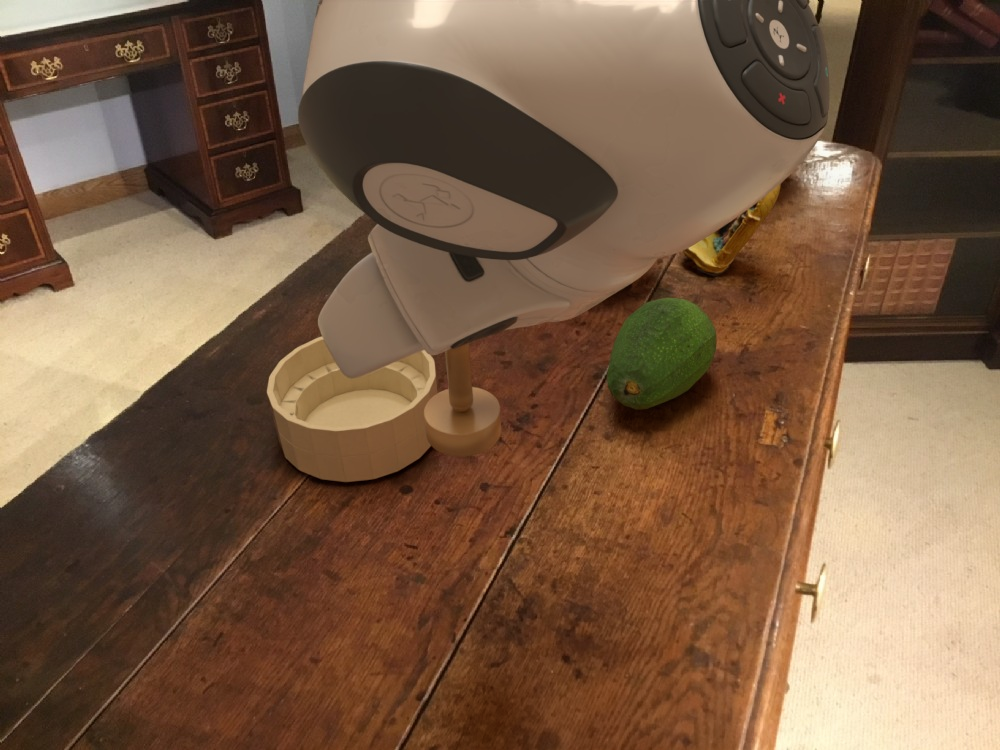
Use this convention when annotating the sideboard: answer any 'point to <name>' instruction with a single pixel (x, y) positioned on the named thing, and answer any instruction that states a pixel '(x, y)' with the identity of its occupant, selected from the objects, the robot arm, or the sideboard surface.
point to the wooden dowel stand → (462, 411)
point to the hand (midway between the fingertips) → (448, 313)
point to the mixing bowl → (350, 414)
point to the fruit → (660, 352)
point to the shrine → (730, 238)
